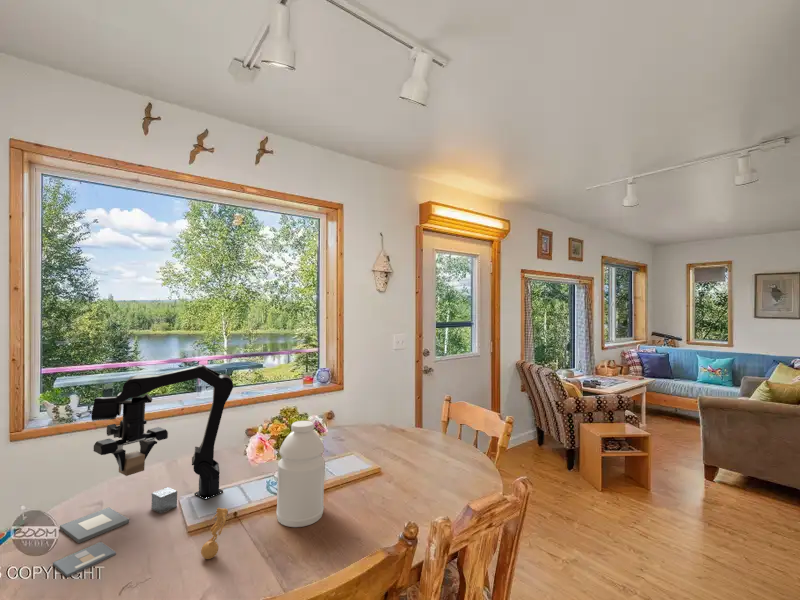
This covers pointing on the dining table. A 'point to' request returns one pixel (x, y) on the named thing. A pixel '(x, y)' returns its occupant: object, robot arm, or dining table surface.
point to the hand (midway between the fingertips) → (131, 467)
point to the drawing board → (83, 559)
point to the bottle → (300, 477)
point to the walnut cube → (133, 463)
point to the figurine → (214, 535)
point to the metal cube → (164, 500)
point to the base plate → (94, 524)
